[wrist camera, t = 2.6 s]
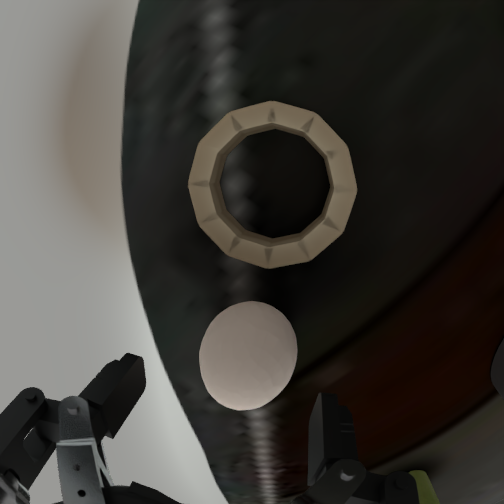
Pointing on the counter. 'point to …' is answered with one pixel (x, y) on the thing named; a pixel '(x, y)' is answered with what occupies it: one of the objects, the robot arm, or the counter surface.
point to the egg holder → (228, 228)
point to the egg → (247, 355)
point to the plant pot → (424, 488)
